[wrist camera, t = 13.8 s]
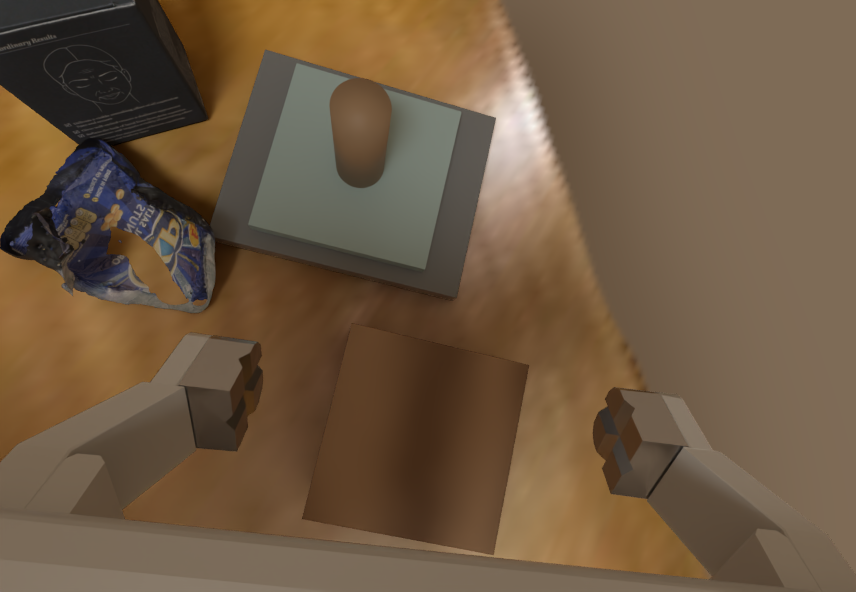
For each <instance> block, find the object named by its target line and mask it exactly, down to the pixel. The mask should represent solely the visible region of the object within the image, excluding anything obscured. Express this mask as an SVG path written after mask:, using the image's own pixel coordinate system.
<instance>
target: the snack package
mask: <svg viewBox="0 0 856 592" xmlns="http://www.w3.org/2000/svg"><path fill="white" fill-rule="evenodd" d="M56 174H57V175H55V176H54V177H53V179H52V180H51V181H50V184H49V185H48V186H47V190H45V193H44V194H43V195H41V196H40V198H37V199H35V200H34V201H31V202H29V203H28V204H27V205H25V206H24V207H23V209H22V210H20V211H19V212H18V213H17V215H16V216H15V217H14V218H13V219H12V220H10V221H9V223H8V224H7V226H6V228H5V231H4V232H3V233H2V235H1V238H0V245H1V247H0V249H2V250H3V251H4V252H6V253H8V254H10V255H12V256H14V257H17V258H20V259H26V260H35V261H37V262H38V263H40V264H42V265H44V266H46V267H48V268H51V269H54V270H55V271H57V272H58V273H59V274H60V275H61V276H62V277H63V278H64V280H65V282H66V283H63V284H62V288H64V289H65V290H66V291H68V292H69V293H70V294H71V295H73V288H75V289H76V290H78V291H81V292H86V293H87V294H88V295H91V296H95V297H97V298H98V299H101V300H108V301H115V302H116V303H123V304H143V305H149V306H154V307H156V308H163V309H174V310H181V311H185V312H189V313H200V312H202V311H203V310H205V309H206V307H208V305H209V302H210V299H211V297H212V290H213V288H214V286H215V284H214V283H215V279H216V278H215V274H216V273H215V259H214V257H215V256H214V253H215V236H214V233H213V231H212V229H211V227H210V226H209V224H208V223H207V222H206V221H205V220H204V219H203V218H202V217H201V215H200V214H198V213H197V212H196V211H195V210H193V209H192V208H190V207H188V206H187V205H185V204H183V203H181V202H179V201H177V200H175V199H174V198H172V197H170V196H168V195H167V194H166V193H164V192H163V191H161V190H160V189H159V188H157V187H154V186H152V185H151V184H150V183H148V182H146V181H144V180H143V179H142V178H141V177H140V174H139V172H138V171H137V170H136V169H135V167H134V166H133V165H132V163H130V162H129V160H128V159H126V158H125V156H124V155H122V154H121V153H118V152H117V151H116V150H115V149H114V148H112V147H111V146H110V145H109V144H108V143H106V142H105V141H103V140H102V139H99V138H89V139H86V140H84V142H82V144H80V145H78V146H77V147H76V149H75V151H74V152H73V153H72V154H71V155H70V156H69V157H68V158H67V159H66V162H65V164H64V165H63V166H61V167H60V168H59V170H58V171H57V172H56ZM59 200H60V201H59ZM57 203H58V206H57V207H55V205H56V204H57ZM111 227H117V228H119V229H122V230H123V231H127V232H131V233H134V234H136V235H138V236H140V237H141V238H142V239H143V240H144V241H146V242H147V243H148V244H149V245H151V246H152V247H153V248H154V249H155V250H156V252H157V253H158V255H159V256H160V257H161V258H162V260H163V262H164V263H165V264H166V266H167V267H168V268H169V271H170V273H171V276H172V278H173V281H174V282H175V283H176V284H177V285H178V286H179V287H180V289H181V290H182V292H183V294H185V297H186V299H187V298H188V299H189V302H188V303H185V304H181V305H169V304H166V303H163V302H161V301H160V300H159V299H158V298H157V296H156V294H155V293H150V292H149V287H148V286H147V285H146V284H144V283H143V282H142V281H141V280H140V279H139V278H138V277H137V276H136V275H135V272H134V270H133V269H132V268H131V265H130V264H129V259H128V258H127V257H126V256H124V255H115V254H110V255H107V254H106V253H107V249H108V243H109V241H110V238H111V231H110V228H111ZM119 242H120V243H122V242H121V240H119ZM196 299H198V300H204V299H207V302H206V303H205V304H204V305H202V306H195V305H193V303H192V302H194V301H195V300H196Z"/></svg>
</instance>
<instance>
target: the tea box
mask: <svg viewBox="0 0 856 592" xmlns="http://www.w3.org/2000/svg"><path fill="white" fill-rule="evenodd" d="M528 368H529V365H526V364H522V363H518V362H514V361H509V360H505V359H501V358H497V357H493V356H488V355H484V354H480V353H476V352H472V351H467V350H463V349H459V348H455V347H451V346H446V345H442V344H438V343H434V342H429V341H425V340H421V339H417V338H413V337H408V336H404V335H400V334H396V333H392V332H387V331H383V330H379V329H375V328H371V327H366V326H362V325H358V324H354V323H352V324H351V328H350V332H349V336H348V340H347V344H346V348H345V352H344V356H343V360H342V364H341V368H340V372H339V376H338V380H337V383H336V387H335V391H334V395H333V399H332V403H331V407H330V411H329V415H328V419H327V423H326V427H325V431H324V435H323V439H322V443H321V446H320V450H319V454H318V458H317V462H316V466H315V470H314V474H313V478H312V482H311V486H310V490H309V494H308V498H307V502H306V505H305V509H304V513H303V517H302V519H305V520H311V521H316V522H321V523H327V524H332V525H337V526H342V527H348V528H353V529H358V530H364V531H369V532H374V533H380V534H385V535H390V536H396V537H401V538H406V539H411V540H417V541H422V542H427V543H433V544H438V545H443V546H449V547H454V548H459V549H464V550H470V551H475V552H480V553H486V554H491V555H494V550H495V544H496V539H497V534H498V528H499V523H500V518H501V512H502V507H503V502H504V496H505V491H506V486H507V480H508V475H509V470H510V464H511V459H512V454H513V448H514V443H515V438H516V432H517V427H518V422H519V416H520V411H521V406H522V400H523V395H524V390H525V384H526V379H527V374H528Z"/></svg>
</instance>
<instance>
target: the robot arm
mask: <svg viewBox="0 0 856 592" xmlns="http://www.w3.org/2000/svg"><path fill="white" fill-rule="evenodd" d="M261 356H262V354H261V345H260V344H259V343H258V342H255V341H248V340H242V339H235V338H229V337H222V336H215V335H213V336H212V335H206V334H199V333H192V332H190V333H188V334H187V335H185V336H184V337H183V339H182V340H181V341H180V343H179V344H178V345H177V347H176V348H175V349H174V351H173V352H172V353H171V355H170V356H169V357H168V359H167V360H166V362H165V363H164V364H163V366H162V367H161V368H160V370H159V371H158V372H157V374H156V375H155V376H154V378H153V379H152V380H151V382H150V383H149V382H141V383H139V384H137V385H135V386H133V387H131V388H129V389H127V390H125V391H123V392H121V393H119V394H117V395H115V396H113V397H111V398H109V399H107V400H105V401H103V402H101V403H99V404H97V405H95V406H93V407H91V408H89V409H87V410H85V411H83V412H81V413H79V414H77V415H75V416H73V417H71V418H69V419H67V420H65V421H63V422H61V423H59V424H57V425H55V426H53V427H51V428H49V429H47V430H45V431H43V432H41V433H39V434H37V435H35V436H33V437H31V438H29V439H27V440H25V441H23V442H21V443H19V444H17V445H16V446H15V447H14V448H13V449H12V450H11V452H10V453H9V454H8V455H7V456H6V457H5V458H4V459H3V460H2V461H1V462H0V592H856V574H855V573H854V571H853V570H852V569H851V567H850V566H849V564H848V563H847V561H846V560H845V559H844V557H843V556H842V554H841V553H840V552H839V550H838V549H837V547H836V546H835V544H834V543H833V541H832V540H831V539H830V537H829V536H828V535H827V534H826V533H825V532H823V531H822V530H820V528H818V527H817V526H815V525H814V524H813V523H812V522H810V521H809V520H808V519H806V518H805V517H804V516H803V515H801V514H800V513H799V512H797V511H796V510H794V509H793V508H792V507H791V506H790V505H788V504H787V503H786V502H785V501H783V500H782V499H781V498H779V497H778V496H777V495H775V494H774V493H773V492H772V491H770V490H769V489H768V488H766V487H765V486H764V485H762V484H761V483H760V482H759V481H757V480H756V479H755V478H753V477H752V476H751V475H749V474H748V473H747V472H746V471H744V470H743V469H742V468H741V467H739V466H738V465H737V464H735V463H734V462H733V461H731V460H730V459H729V458H728V457H726V456H725V455H724V454H722V453H721V452H720V451H713V450H712V448H711V446H710V445H709V443H708V441H707V439H706V438H705V436H704V434H703V433H702V431H701V429H700V428H699V426H698V424H697V422H696V421H695V419H694V418H693V416H692V414H691V412H690V411H689V409H688V407H687V406H686V404H685V402H684V400H683V399H682V398H681V397H680V396H679V395H677V394H670V393H660V392H649V391H641V390H633V389H624V388H616V387H614V388H612V389H611V390H610V391H609V392H608V394H607V396H606V398H605V400H606V403H607V405H608V407H606V408H604V409H603V410H601V411H600V412H598V414H597V417H596V419H595V421H594V426H593V440H594V445H595V448H596V451H597V453H598V454H599V455H600V456H601V457H602V458H604V459H605V460H606V461H605V463H604V465H603V467H602V469H603V472H604V475H605V478H606V481H607V484H608V487H609V490H610V493H611V494H616V495H623V496H630V497H637V498H644V499H648V500H647V502H648V503H649V504H650V505H651V506H652V507H653V509H654V510H655V511H656V512H657V513H658V514H659V515H660V517H661V518H662V519H663V520H664V521H665V522H666V524H667V525H668V526H669V527H670V528H671V529H672V530H673V532H674V533H675V534H676V535H677V536H678V537H679V539H680V540H681V541H682V542H683V543H684V544H685V546H686V547H687V548H688V549H689V550H690V551H691V552H692V554H693V555H694V556H695V557H696V558H697V559H698V561H699V562H700V563H701V564H702V565H703V566H704V567H705V569H706V570H707V571H708V572H709V573H710V574H711V576H712V577H711V578H710V579H709V580H708V579H698V578H689V577H679V576H669V575H659V574H650V573H640V572H630V571H621V570H611V569H601V568H591V567H582V566H572V565H562V564H553V563H543V562H533V561H523V560H513V559H504V558H494V557H484V556H474V555H464V554H455V553H445V552H435V551H425V550H415V549H406V548H396V547H386V546H377V545H367V544H358V543H348V542H339V541H329V540H319V539H310V538H300V537H291V536H281V535H272V534H262V533H252V532H243V531H233V530H223V529H214V528H204V527H194V526H184V525H175V524H165V523H155V522H145V521H136V520H126V519H125V518H124V515H123V512H122V509H124V508H125V507H126V506H127V505H129V504H130V503H131V502H132V501H134V500H135V499H136V498H137V497H139V496H140V495H141V494H142V493H144V492H145V491H146V490H147V489H149V488H150V487H151V486H152V485H154V484H155V483H156V482H157V481H159V480H160V479H161V478H162V477H164V476H165V475H166V474H167V473H169V472H170V471H171V470H172V469H174V468H175V467H176V466H177V465H179V464H180V463H181V462H182V461H184V460H185V459H186V458H187V457H189V456H190V455H191V454H192V453H194V452H195V451H196V448H202V449H214V450H225V451H237V450H238V448H239V446H240V444H241V441H242V439H243V437H244V435H245V432H246V430H247V428H248V422H247V416H248V415H250V414H251V413H253V412H254V411H255V410H256V407H257V405H258V402H259V399H260V395H261V391H262V384H263V371H262V369H261V368H260V367H259V366H258V365H257V364H258V362H259V360H260V358H261Z"/></svg>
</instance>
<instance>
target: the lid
mask: <svg viewBox="0 0 856 592" xmlns="http://www.w3.org/2000/svg"><path fill="white" fill-rule="evenodd" d="M460 116H461V111H457V110H454V109H451V108H447V107H444V106H440V105H437V104H434V103H430V102H427V101H423V100H420V99H417V98H413V97H410V96H406V95H403V94H400V93H396V92H393V91H390V90H386V89H383V88H382V87H381V86H380V85H379V84H377V83H375V82H373V81H371V80H368V79H364V78H354V79H349V78H345V77H342V76H339V75H335V74H332V73H328V72H325V71H322V70H318V69H315V68H312V67H308V66H305V65H301V64H298V63H297V64H296V67H295V70H294V73H293V77H292V80H291V83H290V87H289V90H288V93H287V97H286V100H285V103H284V107H283V110H282V113H281V117H280V120H279V123H278V127H277V130H276V133H275V137H274V140H273V143H272V147H271V150H270V153H269V157H268V160H267V163H266V167H265V170H264V173H263V176H262V180H261V183H260V186H259V190H258V193H257V196H256V200H255V203H254V206H253V210H252V213H251V216H250V220H249V223H248V225H249V226H250V228H251V229H253V230H257V231H261V232H265V233H269V234H273V235H277V236H281V237H285V238H289V239H293V240H296V241H300V242H304V243H308V244H312V245H316V246H320V247H324V248H328V249H332V250H336V251H340V252H344V253H348V254H352V255H356V256H360V257H364V258H368V259H372V260H376V261H380V262H383V263H387V264H391V265H395V266H399V267H403V268H407V269H411V270H415V271H419V272H424V270H425V268H426V263H427V259H428V255H429V251H430V246H431V242H432V238H433V233H434V229H435V225H436V220H437V216H438V212H439V207H440V203H441V199H442V194H443V190H444V186H445V181H446V177H447V173H448V168H449V164H450V160H451V155H452V151H453V147H454V142H455V138H456V134H457V129H458V125H459V121H460Z"/></svg>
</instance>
